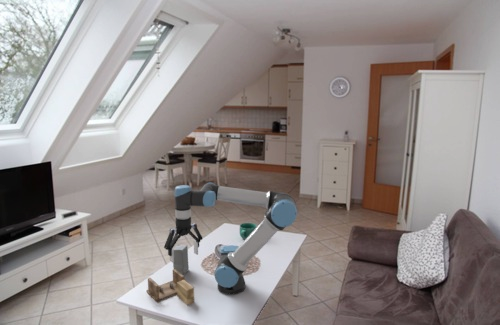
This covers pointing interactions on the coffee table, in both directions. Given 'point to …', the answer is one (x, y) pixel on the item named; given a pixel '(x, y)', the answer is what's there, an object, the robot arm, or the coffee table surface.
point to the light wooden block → (185, 292)
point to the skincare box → (181, 259)
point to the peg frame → (164, 287)
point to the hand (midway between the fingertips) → (184, 257)
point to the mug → (246, 229)
